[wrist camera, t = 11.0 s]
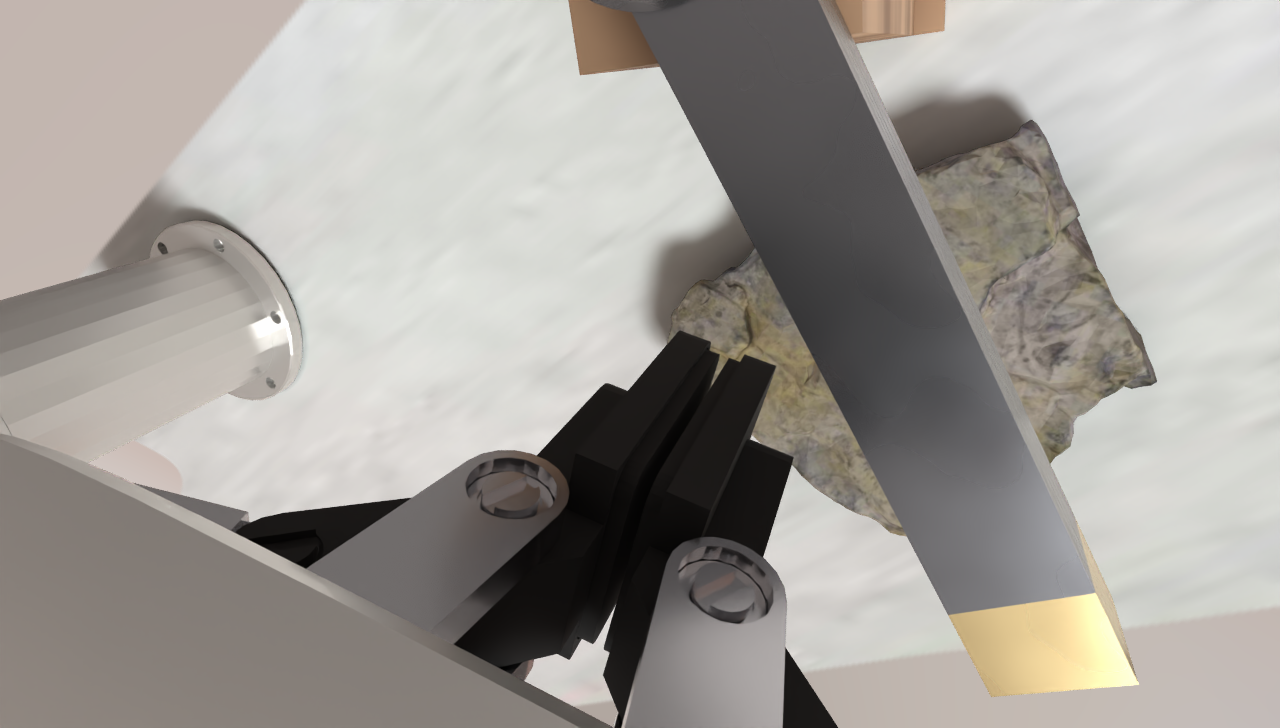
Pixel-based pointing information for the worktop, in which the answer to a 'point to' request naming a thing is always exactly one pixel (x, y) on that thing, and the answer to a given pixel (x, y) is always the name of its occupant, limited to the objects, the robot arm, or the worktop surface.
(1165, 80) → the worktop surface
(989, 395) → the latch bar
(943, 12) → the post
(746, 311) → the stone
